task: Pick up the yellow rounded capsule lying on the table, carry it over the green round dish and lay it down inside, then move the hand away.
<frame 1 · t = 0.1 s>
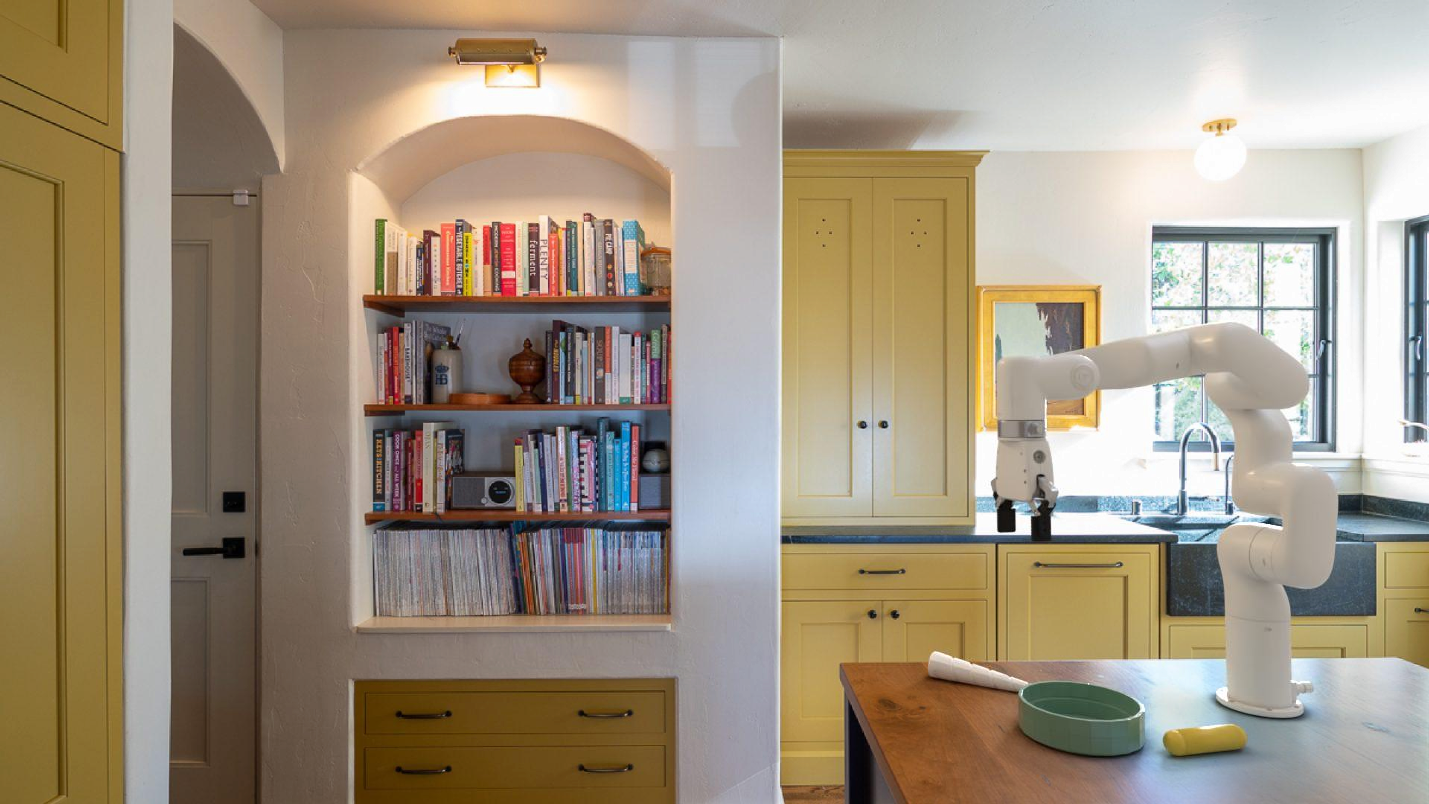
hand: (1023, 536, 131), 31 cm above the table, tool pointing down, fingers open, 9 cm apart
yellow rounded capsule: (1205, 751, 122), on the table
green round dish: (1080, 734, 129), on the table
unicorn horn: (988, 686, 152), on the table
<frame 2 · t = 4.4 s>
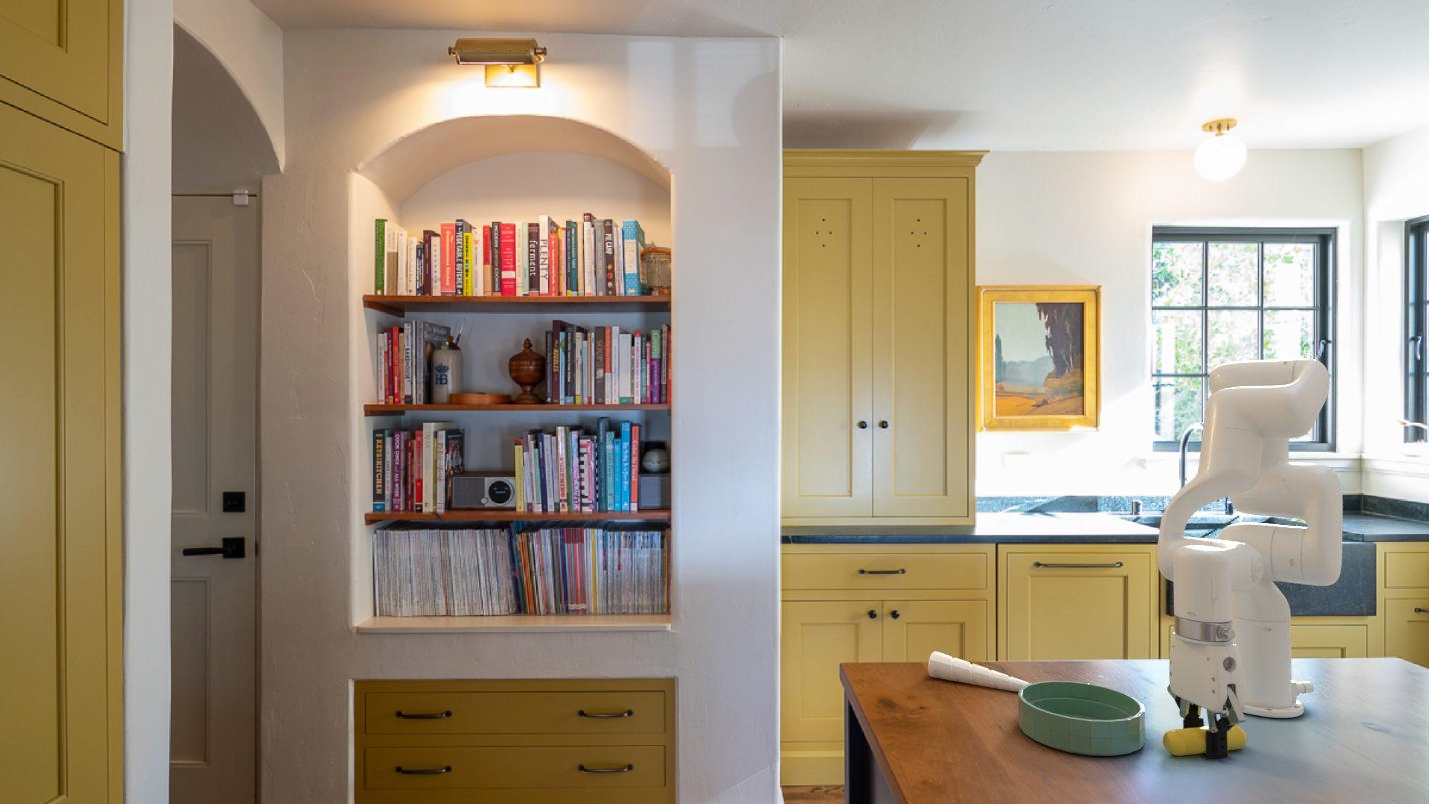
hand: (1205, 749, 122), 0 cm above the table, tool pointing down, fingers closed on yellow rounded capsule, 3 cm apart
yellow rounded capsule: (1205, 751, 122), on the table, touching gripper
everything else where it was.
when the fingers open (1 cm above the table, at t = 10.1 s): yellow rounded capsule stays where it is, resting on green round dish.
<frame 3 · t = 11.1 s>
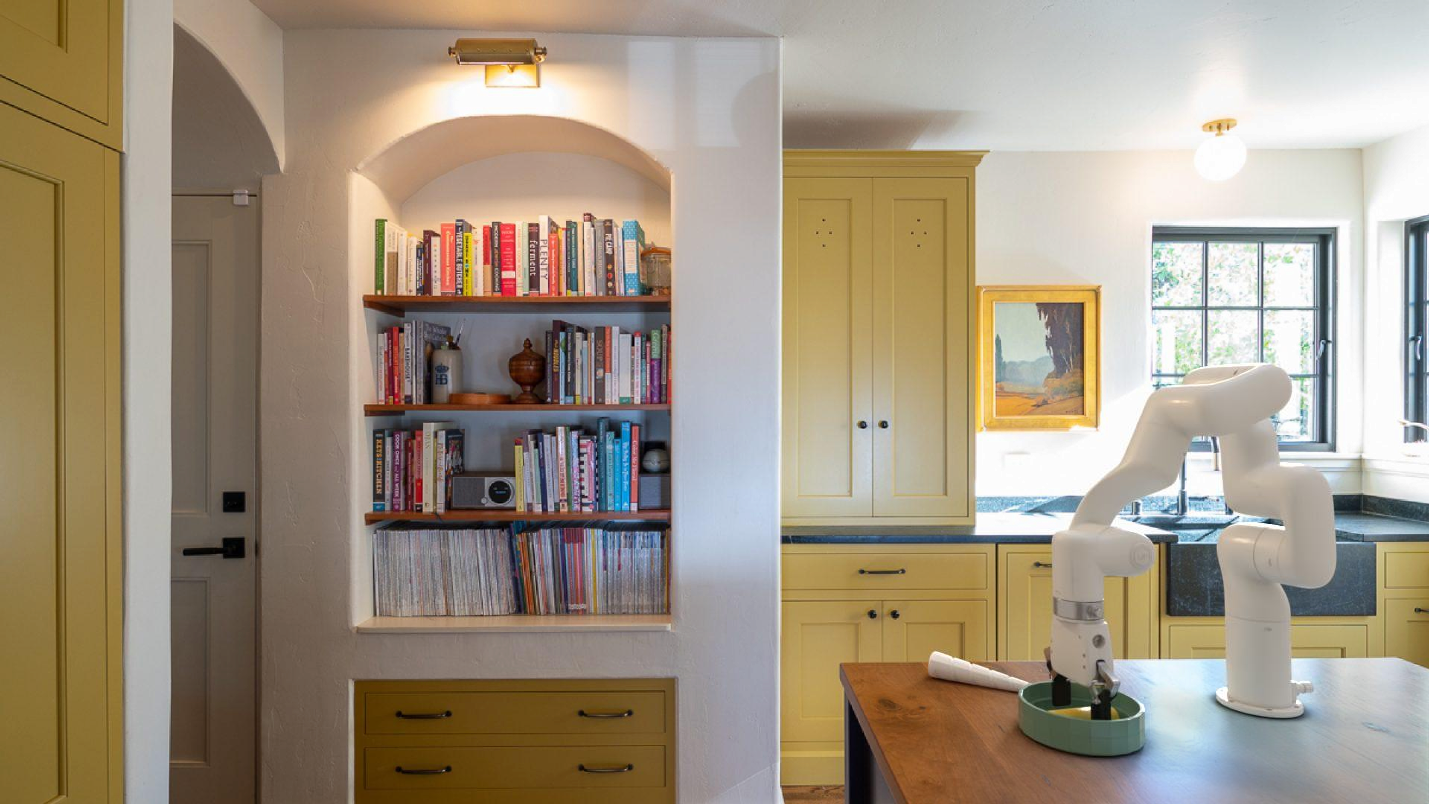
hand: (1080, 716, 129), 3 cm above the table, tool pointing down, fingers open, 9 cm apart
yellow rounded capsule: (1079, 731, 129), point 1 cm above the table, touching green round dish
everything else where it was.
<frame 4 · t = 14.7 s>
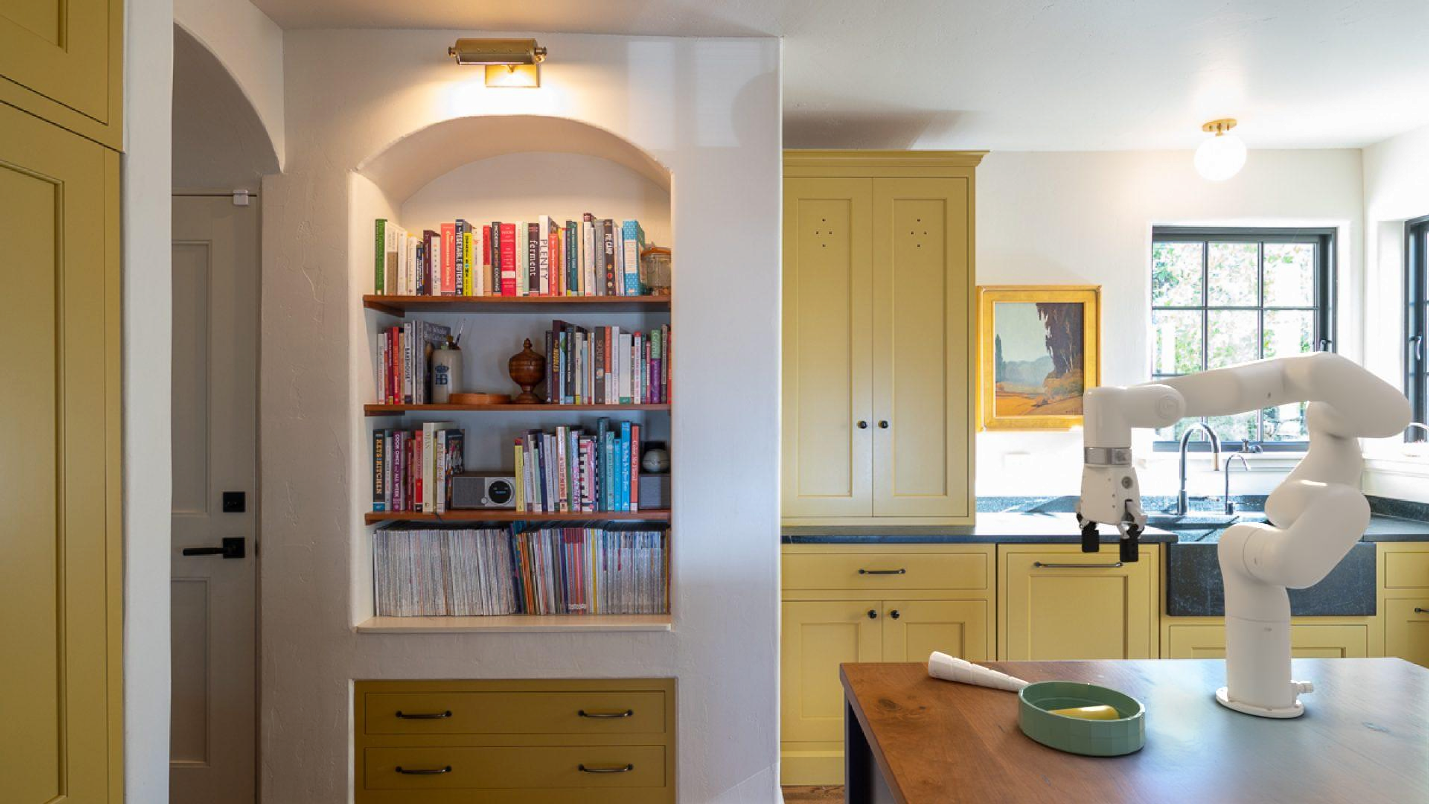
hand: (1109, 557, 139), 26 cm above the table, tool pointing down, fingers open, 9 cm apart
nothing on the table moved.
at the end: yellow rounded capsule inside the target area in the green round dish (0.1 cm from its centre), point 0.5 cm above the green round dish's base; the gripper is holding nothing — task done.
